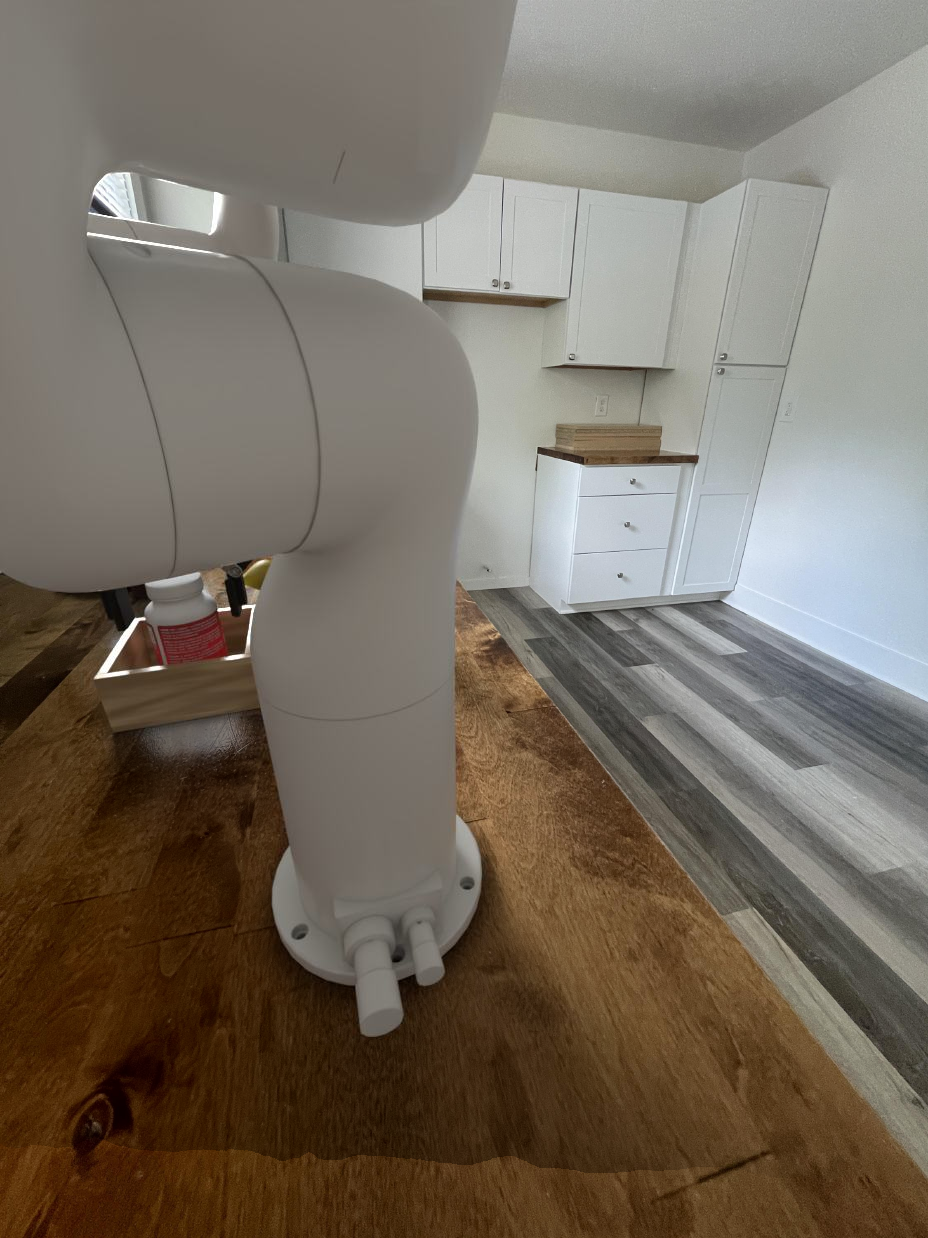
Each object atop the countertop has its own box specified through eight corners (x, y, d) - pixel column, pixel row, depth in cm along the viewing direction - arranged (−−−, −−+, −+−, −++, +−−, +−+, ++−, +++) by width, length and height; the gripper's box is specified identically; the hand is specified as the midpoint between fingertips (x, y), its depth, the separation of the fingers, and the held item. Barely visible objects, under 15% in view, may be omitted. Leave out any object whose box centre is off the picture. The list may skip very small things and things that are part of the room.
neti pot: (223, 611, 68) (213, 566, 65) (325, 584, 77) (319, 543, 74) (235, 622, 65) (224, 574, 62) (338, 592, 74) (333, 550, 71)
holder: (263, 707, 48) (253, 656, 45) (113, 733, 44) (92, 679, 42) (268, 647, 59) (259, 603, 56) (147, 664, 55) (132, 618, 53)
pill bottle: (245, 671, 53) (224, 572, 48) (196, 702, 48) (167, 594, 43) (202, 659, 55) (178, 563, 50) (151, 688, 50) (118, 584, 45)
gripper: (-19, 436, 35) (64, 649, 43) (243, 429, 40) (278, 622, 47) (28, 428, 42) (93, 614, 49) (249, 423, 47) (279, 593, 54)
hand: (184, 618), depth 48 cm, fingers open, 9 cm apart
